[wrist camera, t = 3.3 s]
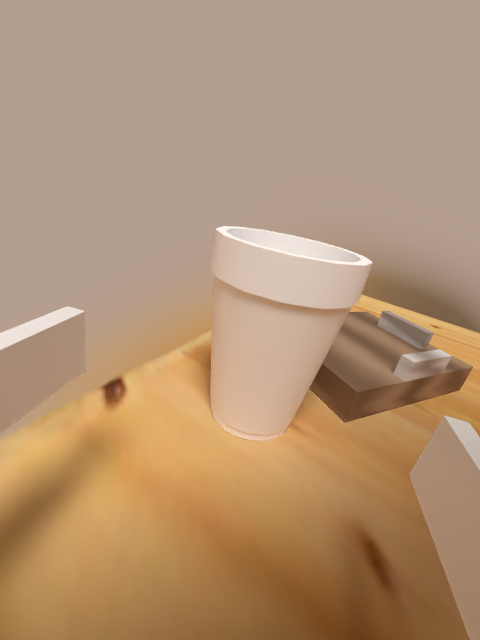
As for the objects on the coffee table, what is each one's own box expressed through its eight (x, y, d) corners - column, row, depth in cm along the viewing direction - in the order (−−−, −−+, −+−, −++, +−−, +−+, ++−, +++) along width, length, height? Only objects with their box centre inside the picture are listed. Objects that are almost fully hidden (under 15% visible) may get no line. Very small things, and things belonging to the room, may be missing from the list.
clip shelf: (359, 330, 44) (371, 298, 42) (459, 389, 33) (482, 350, 31) (257, 337, 35) (266, 298, 33) (344, 422, 24) (366, 370, 22)
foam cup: (164, 421, 20) (186, 228, 15) (220, 363, 28) (246, 224, 23) (298, 483, 18) (376, 277, 13) (317, 400, 26) (370, 253, 21)
